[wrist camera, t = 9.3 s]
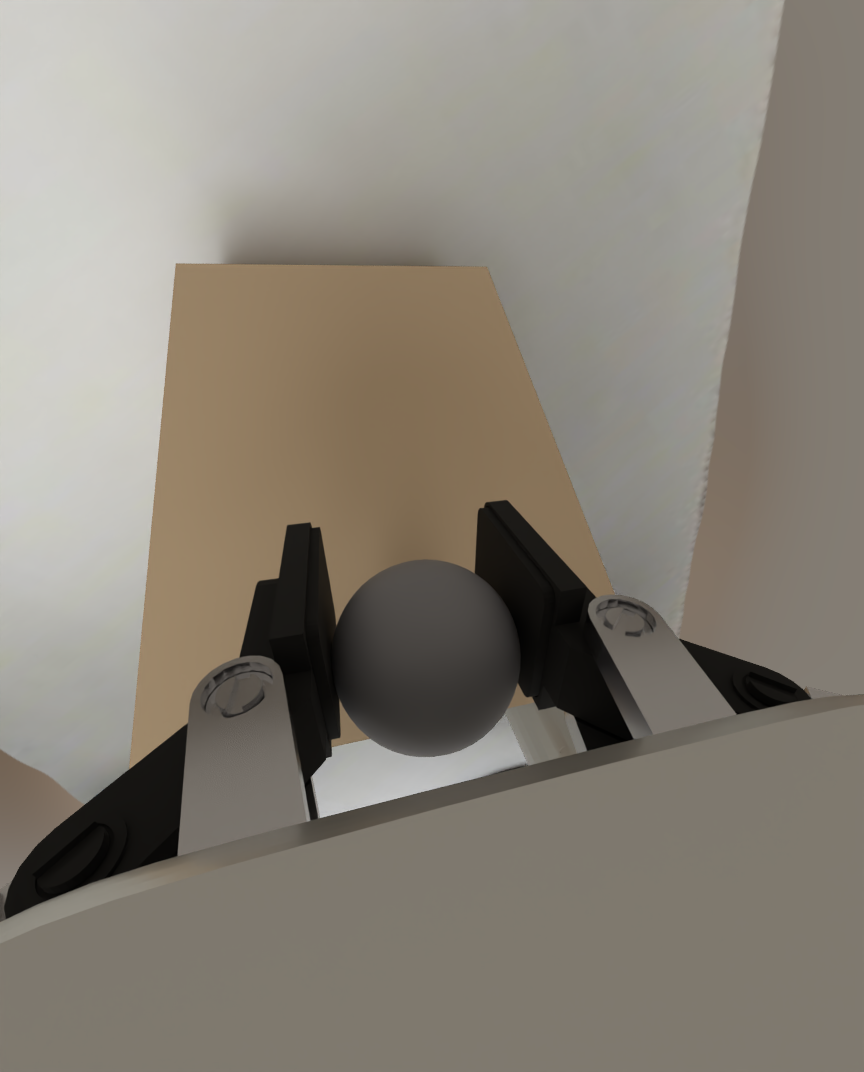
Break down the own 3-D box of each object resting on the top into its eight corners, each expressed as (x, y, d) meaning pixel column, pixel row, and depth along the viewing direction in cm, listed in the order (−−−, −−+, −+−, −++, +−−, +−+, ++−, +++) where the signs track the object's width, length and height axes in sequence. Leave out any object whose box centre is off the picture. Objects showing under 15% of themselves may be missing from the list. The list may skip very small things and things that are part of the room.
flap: (484, 277, 22) (523, 117, 16) (642, 695, 13) (844, 670, 8) (181, 276, 19) (97, 80, 13) (137, 811, 10) (-153, 912, 5)
